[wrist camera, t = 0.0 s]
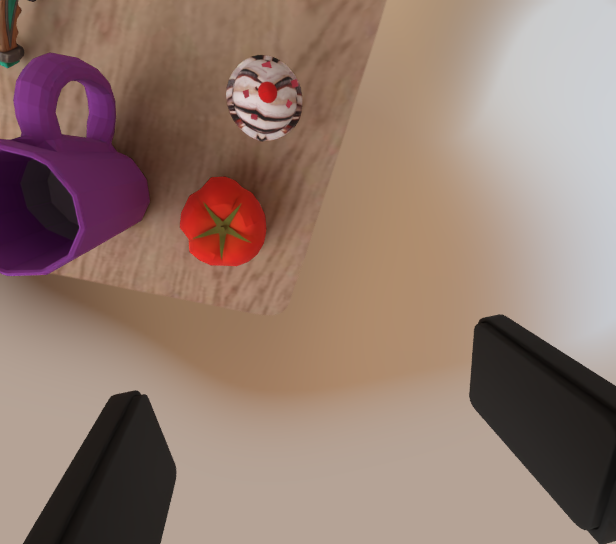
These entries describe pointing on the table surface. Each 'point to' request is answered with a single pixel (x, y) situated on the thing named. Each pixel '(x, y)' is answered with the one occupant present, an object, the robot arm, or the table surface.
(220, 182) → the tomato
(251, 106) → the ice cream cone
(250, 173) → the table surface
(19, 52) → the knife
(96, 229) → the mug
